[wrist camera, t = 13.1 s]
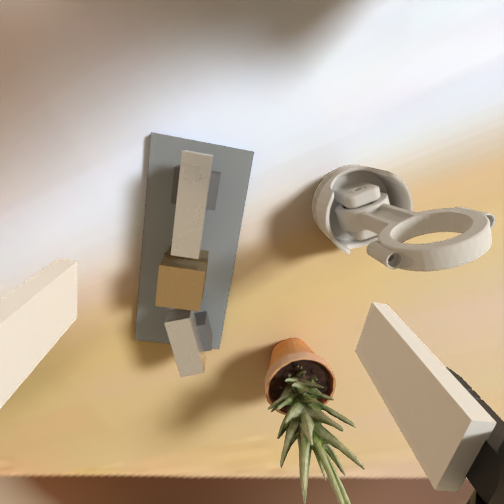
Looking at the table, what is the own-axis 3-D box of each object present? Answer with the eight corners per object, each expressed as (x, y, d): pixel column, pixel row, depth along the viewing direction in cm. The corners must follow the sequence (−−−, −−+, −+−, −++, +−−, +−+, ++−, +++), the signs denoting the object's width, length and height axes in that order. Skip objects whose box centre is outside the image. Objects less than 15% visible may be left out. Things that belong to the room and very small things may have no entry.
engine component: (302, 181, 41) (323, 250, 44) (367, 219, 22) (396, 337, 25) (384, 150, 40) (399, 223, 44) (526, 160, 21) (534, 289, 24)
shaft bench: (152, 132, 38) (143, 131, 34) (253, 151, 39) (256, 153, 35) (136, 335, 47) (127, 355, 42) (219, 345, 48) (218, 365, 44)
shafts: (185, 149, 34) (181, 150, 32) (237, 159, 35) (238, 161, 32) (162, 359, 43) (157, 374, 40) (204, 363, 44) (203, 379, 41)
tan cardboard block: (165, 280, 43) (154, 306, 36) (169, 244, 41) (158, 264, 35) (204, 286, 44) (200, 312, 37) (209, 250, 42) (206, 270, 35)
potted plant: (325, 372, 51) (406, 566, 28) (267, 385, 51) (298, 590, 28) (315, 318, 48) (398, 488, 25) (253, 333, 48) (276, 516, 25)
